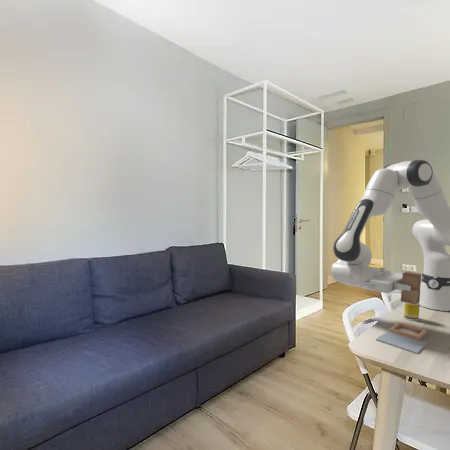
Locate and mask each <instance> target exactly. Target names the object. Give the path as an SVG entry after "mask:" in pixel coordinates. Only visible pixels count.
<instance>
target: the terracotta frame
mask: <svg viewBox="0 0 450 450" xmlns="http://www.w3.org/2000/svg"><path fill="white" fill-rule="evenodd" d="M399 327H401V328H399ZM398 328H399V329H398ZM388 331H389V332H392V333H396V334H399V335H402V336H405V337H409V338H412V339H415V340H419V341H420V339H422V337H424V336H425V335H426V334H427V329H425V328H421V327H417V326H415V325H411V324H406V323H404V322H403V323H402V322H396V323H395V324H393V325H392V326H391V327H390V328H389V329H388ZM418 332H419V333H418Z"/></svg>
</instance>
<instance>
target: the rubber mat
mask: <svg viewBox="0 0 450 450" xmlns="http://www.w3.org/2000/svg"><path fill="white" fill-rule="evenodd" d="M375 340H376V341H377V342H380V343H383V344H386V345H388V346H392V347H395V348H398V349H400V350H404V351H407V352H410V353H412V354H415V355H418V354H419V353H420V352H421V351H422V350H423V349H424V348H425V347H426V346H427V345H428V343H427V342H425V341H421V340H420V339H419V340H416V339H413V338H410V337H406V336H403V335H400V334H396V333H393V332H390V331H389V330H388V331H386V332H384V333H383V334H381V335H379V337H376V339H375Z"/></svg>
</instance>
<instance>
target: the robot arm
mask: <svg viewBox="0 0 450 450" xmlns="http://www.w3.org/2000/svg"><path fill="white" fill-rule="evenodd" d="M432 167H433V166H432V165H431V164H430V163H429V162H428V161H426V160H424V159H415V160H407V161H400V162H397V163H394V164H388V165H386V166H384V167H382V168H378V169H376V170H375V172H374V173H373V174H372V176H371V177H370V179H369V181H368V183H367V185H366V187H365V190H364V192H363V195H362V197H361V199H360V201H358V203H357V204H356V205H355V207H354V209H353V211H352V213H351V215H350V217H349V219H348V221H347V223H346V225H345V228H344V229H343V230H342V233H340V235H338V237H337V238H336V239H335V241H334V242H333V249H332V250H333V253H334V255H335V257H336V258H337V259H338V260H337V261H335V262H334V263H332V265H331V269H330V271H331V272H330V273H331V276H332V278H333V280H334V281H335V282H337V283H340V284H342V285H346V286H349V287H359V288H360V289H364V290H368V291H373V292H380V293H384V294H390V293H392V292H394V291H396V290H397V291H402V290H407V291H410V290H412V286H411V285H408V284H406V285H405V284H402V275H403V272H398V271H393V270H387V268H386V267H385V268H383V267H374V266H369V265H370V263H371V260H372V255H373V254H372V251H371V248H369V246H367V245H366V244H365V243H364V242H362V241H361V236H362V233H363V231H364V230H365V227H366V225H367V223H368V221H369V220H370V218H372V217H376V216H377V217H378V216H381V215H384V214H385V213H387V212H388V211H389V209H390V207H391V205H392V203H393V200H394V197H395V195H396V191H397V189H398V190H400V189H401V190H402V189H404V190H405V189H408V188H409V190H410V193H411V196H412V199H413V202H414V206H415V208H416V210H417V213H418V214H419V215H421V216H422V217H424V218H425V219H421V220H420V219H419V220H418V221H416V222H415V223H414V224H413V226H412V229H411V230H412V231H411V232H412V235H413V237H414V238H415V239H416V241H417V242H418V244H419V245H420V247H421V251H422V254H423V269H422V271H423V272H422V273H421V287H420V301H419V303H420V304H419V307H423V308H427V309H431V310H436V311H441V312H450V254H449V253H448V251H447V249H446V247H445V246H447V247H450V205H449V204H448V202H447V199H446V196H445V194H444V190H443V188H442V185H441V183H440V181H439V179H438V177H437V176H436V174H435V172H434V171H433V168H432Z"/></svg>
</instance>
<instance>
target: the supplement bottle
mask: <svg viewBox="0 0 450 450" xmlns="http://www.w3.org/2000/svg"><path fill="white" fill-rule="evenodd" d="M419 304H420V303H417V304H416V305H414V304H410V303H406V302H403V306H402V308H403V309H402V318H403V319H404V320H408V321H413V322H416V321H419V317H420V316H419V315H420V305H419Z"/></svg>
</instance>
